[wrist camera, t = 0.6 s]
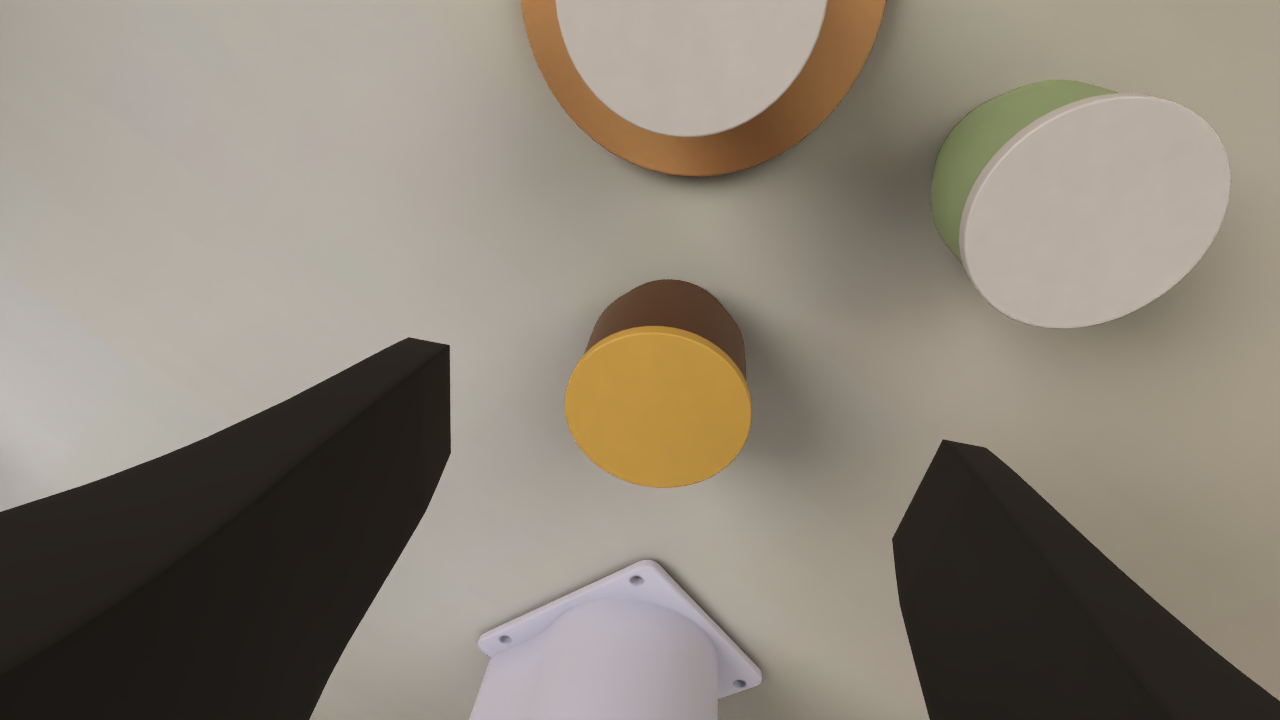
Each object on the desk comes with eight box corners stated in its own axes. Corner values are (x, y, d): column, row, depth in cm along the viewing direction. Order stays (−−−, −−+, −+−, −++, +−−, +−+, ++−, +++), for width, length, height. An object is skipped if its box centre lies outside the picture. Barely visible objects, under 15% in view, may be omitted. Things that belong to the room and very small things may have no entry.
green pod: (961, 288, 18) (1020, 366, 15) (880, 148, 17) (923, 196, 13) (1144, 190, 17) (1264, 251, 13) (1072, 22, 15) (1185, 37, 11)
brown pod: (654, 423, 22) (639, 513, 18) (563, 317, 20) (526, 393, 17) (777, 354, 20) (788, 439, 16) (687, 233, 18) (677, 296, 15)
